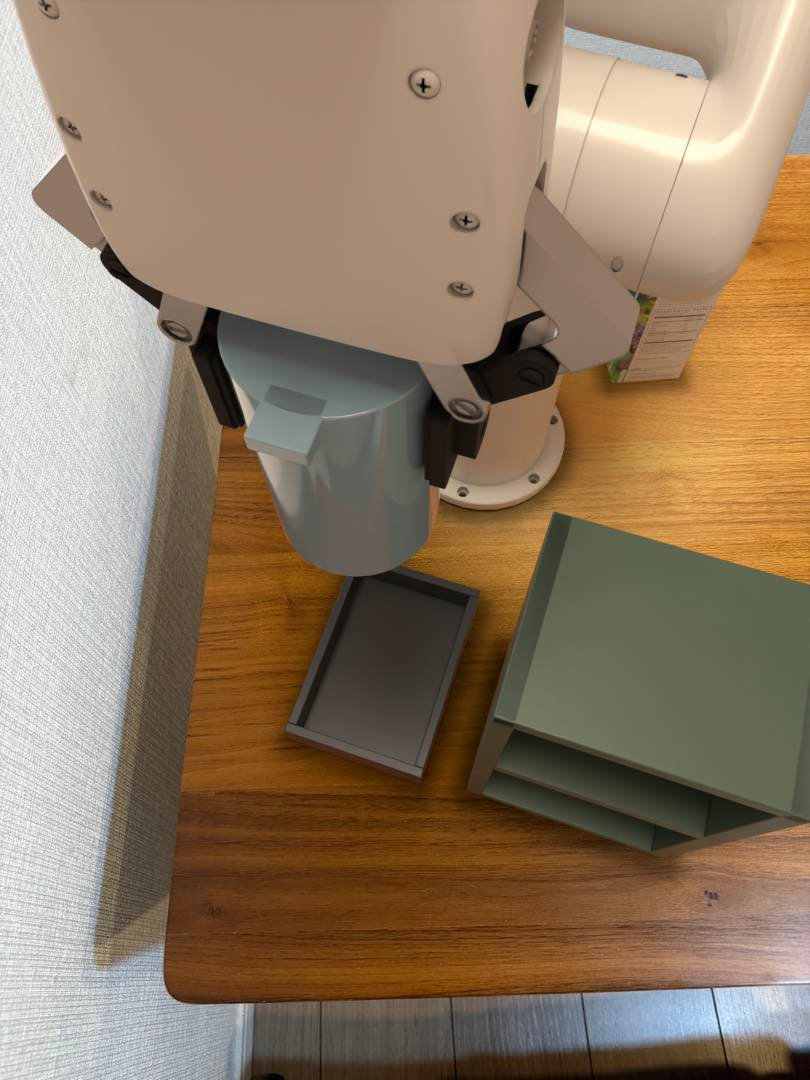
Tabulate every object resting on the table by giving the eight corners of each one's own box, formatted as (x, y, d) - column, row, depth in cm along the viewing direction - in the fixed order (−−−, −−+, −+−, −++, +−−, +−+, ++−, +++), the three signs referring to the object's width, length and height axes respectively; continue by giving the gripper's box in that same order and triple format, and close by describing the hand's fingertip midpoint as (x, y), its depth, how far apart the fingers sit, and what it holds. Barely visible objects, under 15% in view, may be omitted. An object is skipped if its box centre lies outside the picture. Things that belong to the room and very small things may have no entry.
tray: (358, 568, 61) (355, 551, 58) (478, 605, 59) (480, 590, 56) (291, 740, 55) (284, 731, 53) (420, 785, 54) (420, 778, 51)
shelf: (507, 650, 58) (553, 510, 38) (691, 709, 56) (844, 593, 36) (465, 790, 54) (492, 716, 34) (662, 858, 52) (815, 822, 32)
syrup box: (598, 329, 69) (640, 191, 56) (667, 324, 69) (726, 185, 56) (610, 385, 67) (657, 254, 54) (682, 380, 67) (746, 249, 54)
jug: (333, 373, 35) (299, 159, 25) (475, 411, 34) (498, 205, 24) (243, 572, 32) (161, 412, 22) (400, 621, 31) (391, 479, 21)
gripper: (927, -347, 11) (627, 399, 28) (-143, -476, 14) (161, 276, 30) (874, -20, 8) (574, 598, 25) (-470, -260, 11) (63, 444, 27)
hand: (346, 418), depth 27 cm, fingers closed on jug, 6 cm apart
